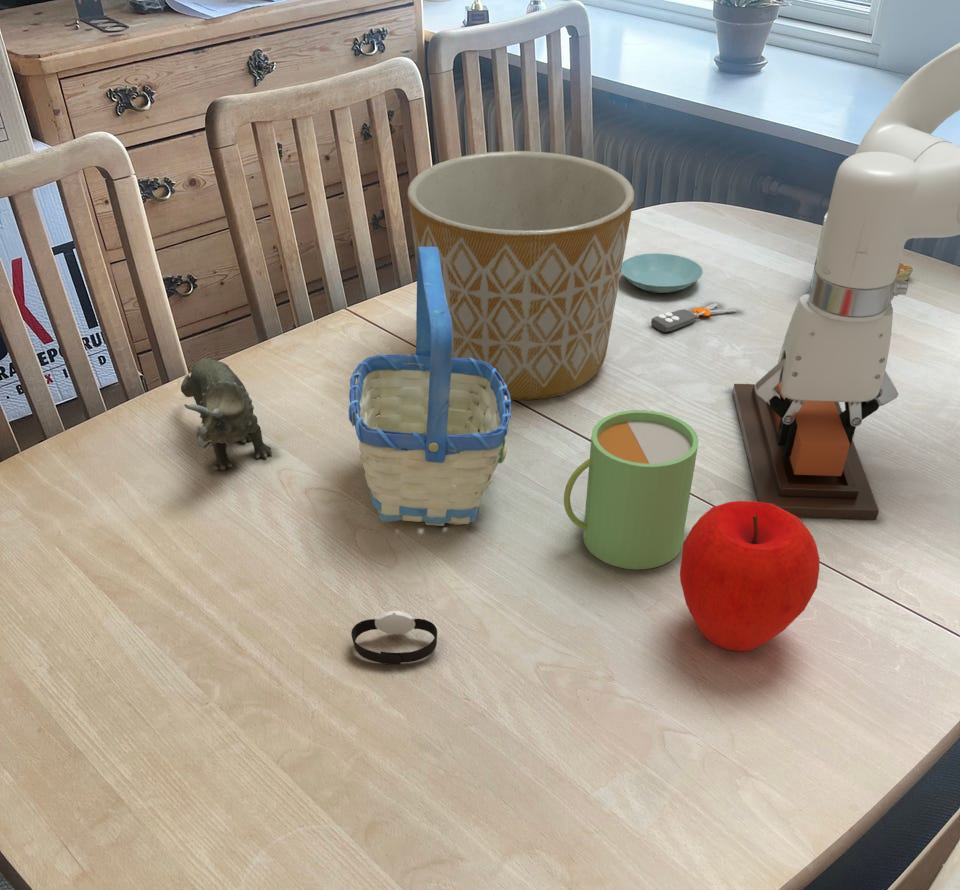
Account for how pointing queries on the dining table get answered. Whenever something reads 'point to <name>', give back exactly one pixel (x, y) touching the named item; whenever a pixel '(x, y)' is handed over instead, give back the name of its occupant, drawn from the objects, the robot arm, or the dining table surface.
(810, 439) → the block
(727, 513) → the apple
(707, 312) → the key chain
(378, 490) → the basket
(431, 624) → the watch
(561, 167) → the planter
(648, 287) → the saucer
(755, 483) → the board
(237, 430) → the toy dinosaur
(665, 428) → the mug
